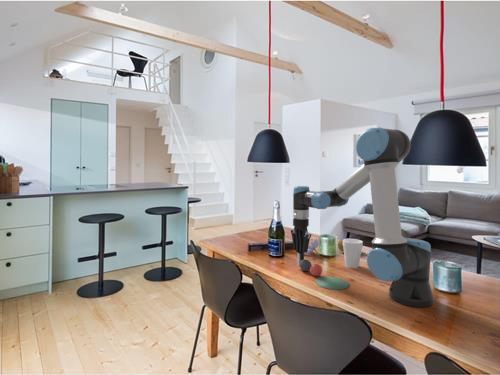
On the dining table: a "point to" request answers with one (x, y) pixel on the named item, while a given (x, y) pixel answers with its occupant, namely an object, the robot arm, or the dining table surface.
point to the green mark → (332, 283)
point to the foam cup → (352, 252)
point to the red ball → (316, 269)
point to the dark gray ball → (305, 265)
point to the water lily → (313, 246)
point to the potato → (341, 245)
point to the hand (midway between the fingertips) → (300, 265)
